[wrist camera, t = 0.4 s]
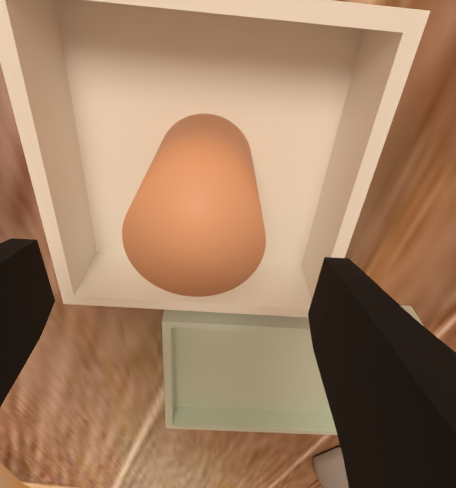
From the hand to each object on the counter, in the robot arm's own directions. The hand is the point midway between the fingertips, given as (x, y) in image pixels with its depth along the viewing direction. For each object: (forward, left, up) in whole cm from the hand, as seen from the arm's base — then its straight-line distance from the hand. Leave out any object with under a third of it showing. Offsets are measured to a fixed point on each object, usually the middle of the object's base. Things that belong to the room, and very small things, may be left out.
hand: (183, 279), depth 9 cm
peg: (0, 0, -9) cm, 9 cm away
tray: (-6, +15, -9) cm, 19 cm away
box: (0, 0, -9) cm, 9 cm away
